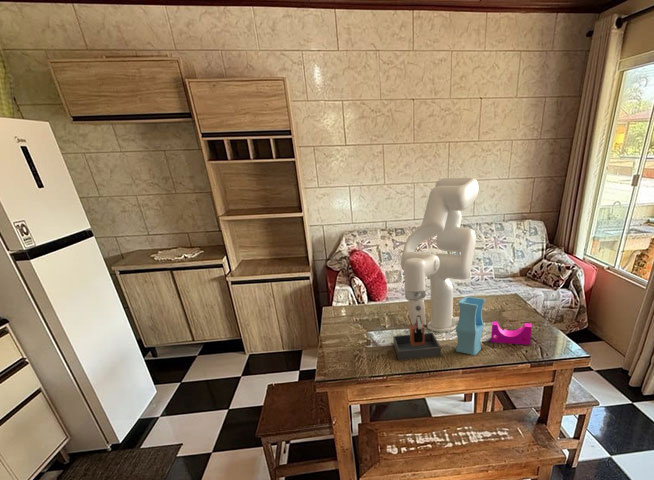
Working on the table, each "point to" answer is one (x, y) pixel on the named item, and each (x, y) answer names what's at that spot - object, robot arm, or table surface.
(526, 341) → the toy block
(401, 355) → the tub
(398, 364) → the table surface
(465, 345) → the vase
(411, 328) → the wooden block
